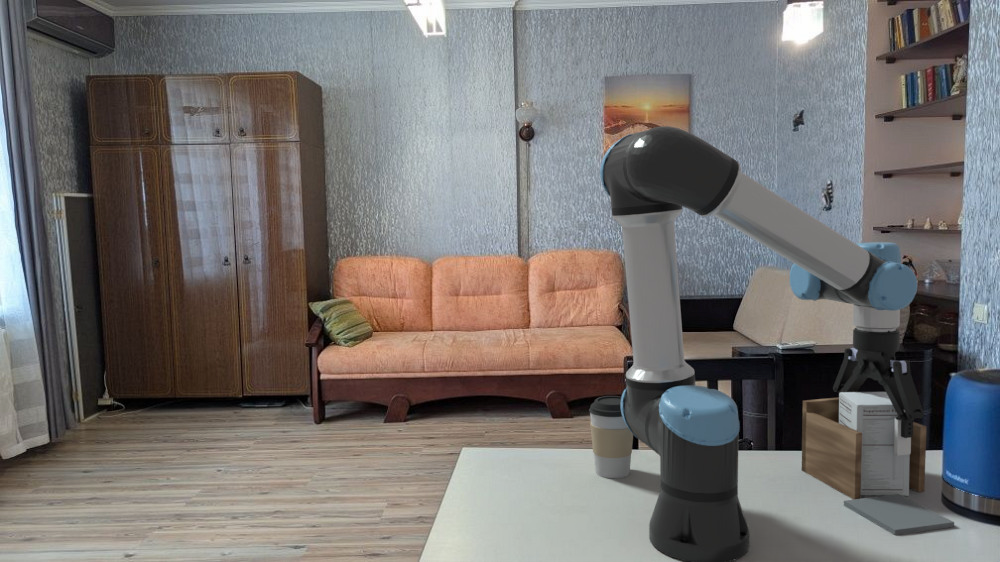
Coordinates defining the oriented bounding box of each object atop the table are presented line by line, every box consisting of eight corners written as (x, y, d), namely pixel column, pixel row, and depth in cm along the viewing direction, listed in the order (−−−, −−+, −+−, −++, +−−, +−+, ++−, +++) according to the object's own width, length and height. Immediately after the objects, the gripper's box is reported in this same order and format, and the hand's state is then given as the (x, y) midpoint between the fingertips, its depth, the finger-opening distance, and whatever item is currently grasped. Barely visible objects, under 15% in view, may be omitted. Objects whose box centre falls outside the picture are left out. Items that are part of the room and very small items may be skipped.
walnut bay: (854, 499, 129) (856, 422, 127) (801, 470, 143) (802, 400, 142) (924, 491, 132) (926, 415, 130) (865, 463, 146) (867, 395, 145)
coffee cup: (585, 478, 142) (585, 402, 140) (593, 462, 151) (593, 391, 149) (632, 482, 139) (632, 405, 138) (638, 466, 148) (637, 393, 146)
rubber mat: (894, 534, 115) (895, 530, 115) (843, 505, 126) (843, 500, 126) (954, 526, 117) (954, 522, 117) (898, 498, 129) (898, 494, 129)
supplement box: (888, 477, 139) (890, 390, 137) (910, 496, 129) (913, 404, 128) (836, 477, 139) (837, 390, 138) (854, 496, 130) (856, 403, 129)
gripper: (949, 337, 120) (946, 462, 122) (847, 317, 144) (846, 421, 147) (910, 341, 119) (908, 467, 121) (814, 319, 143) (813, 425, 145)
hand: (874, 442), depth 134 cm, fingers open, 13 cm apart
